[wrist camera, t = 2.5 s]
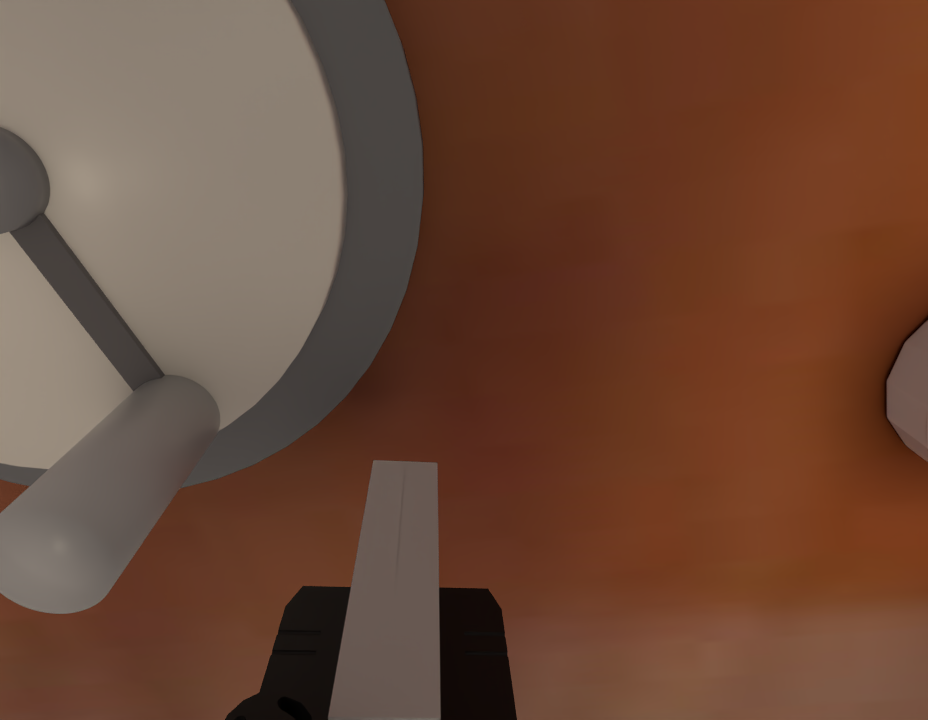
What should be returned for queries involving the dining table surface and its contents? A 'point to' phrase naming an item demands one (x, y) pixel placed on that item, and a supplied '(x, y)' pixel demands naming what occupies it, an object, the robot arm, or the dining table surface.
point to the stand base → (365, 242)
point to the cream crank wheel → (148, 258)
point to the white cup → (911, 393)
